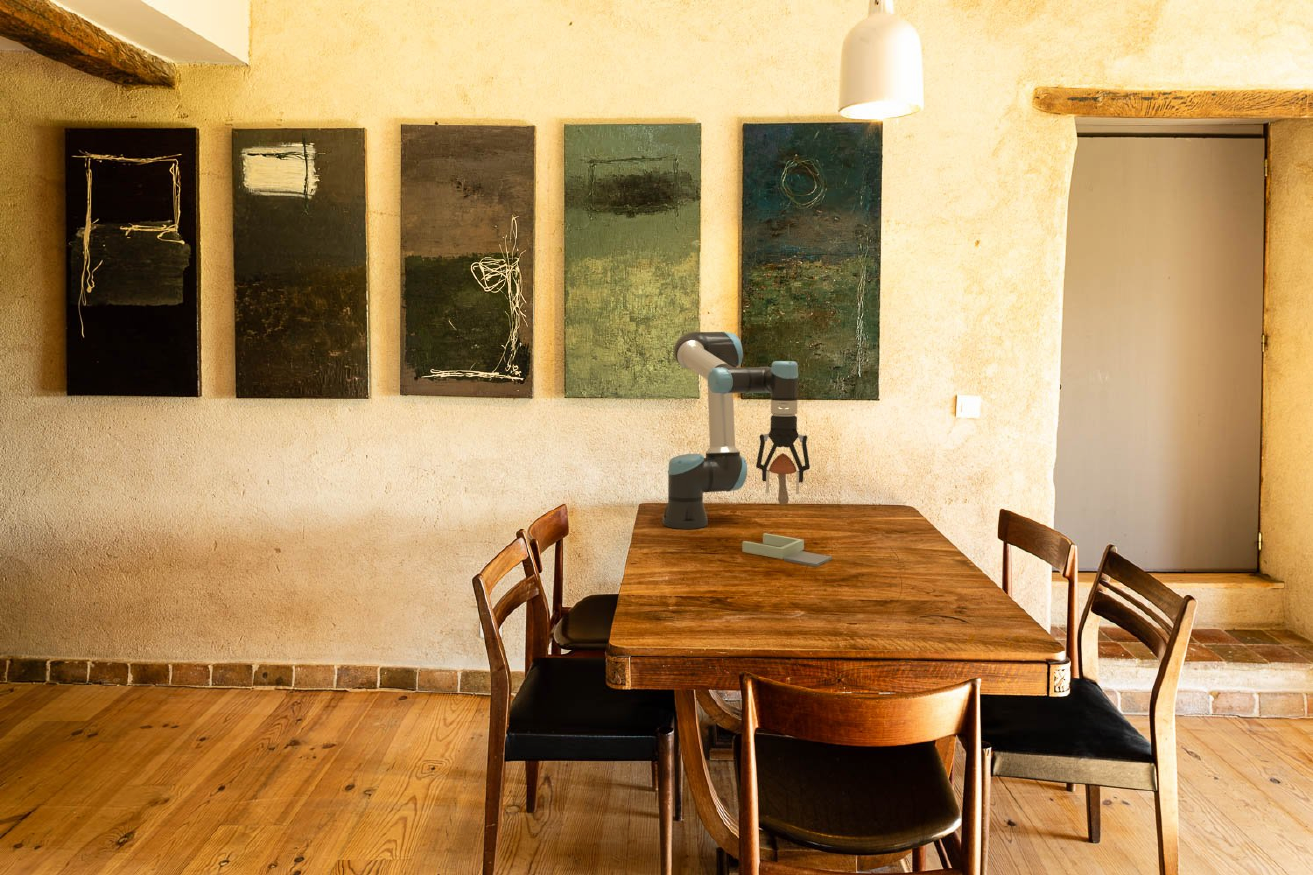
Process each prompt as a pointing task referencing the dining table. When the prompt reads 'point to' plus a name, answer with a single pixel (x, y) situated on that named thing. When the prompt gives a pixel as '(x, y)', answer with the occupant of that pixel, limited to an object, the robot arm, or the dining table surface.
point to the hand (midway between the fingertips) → (782, 492)
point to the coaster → (808, 558)
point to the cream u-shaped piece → (786, 546)
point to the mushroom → (782, 475)
